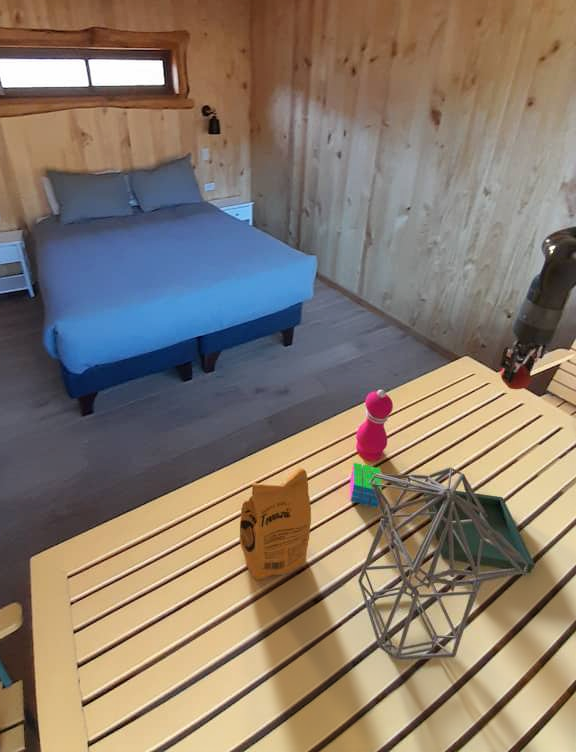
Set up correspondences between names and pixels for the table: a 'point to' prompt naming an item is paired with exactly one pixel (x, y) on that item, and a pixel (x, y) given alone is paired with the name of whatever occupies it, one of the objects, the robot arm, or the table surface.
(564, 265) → the robot arm
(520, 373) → the onion
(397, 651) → the geometric lantern
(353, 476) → the puzzle toy
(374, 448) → the pepper mill
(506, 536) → the tray
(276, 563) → the coffee package
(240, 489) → the table surface
